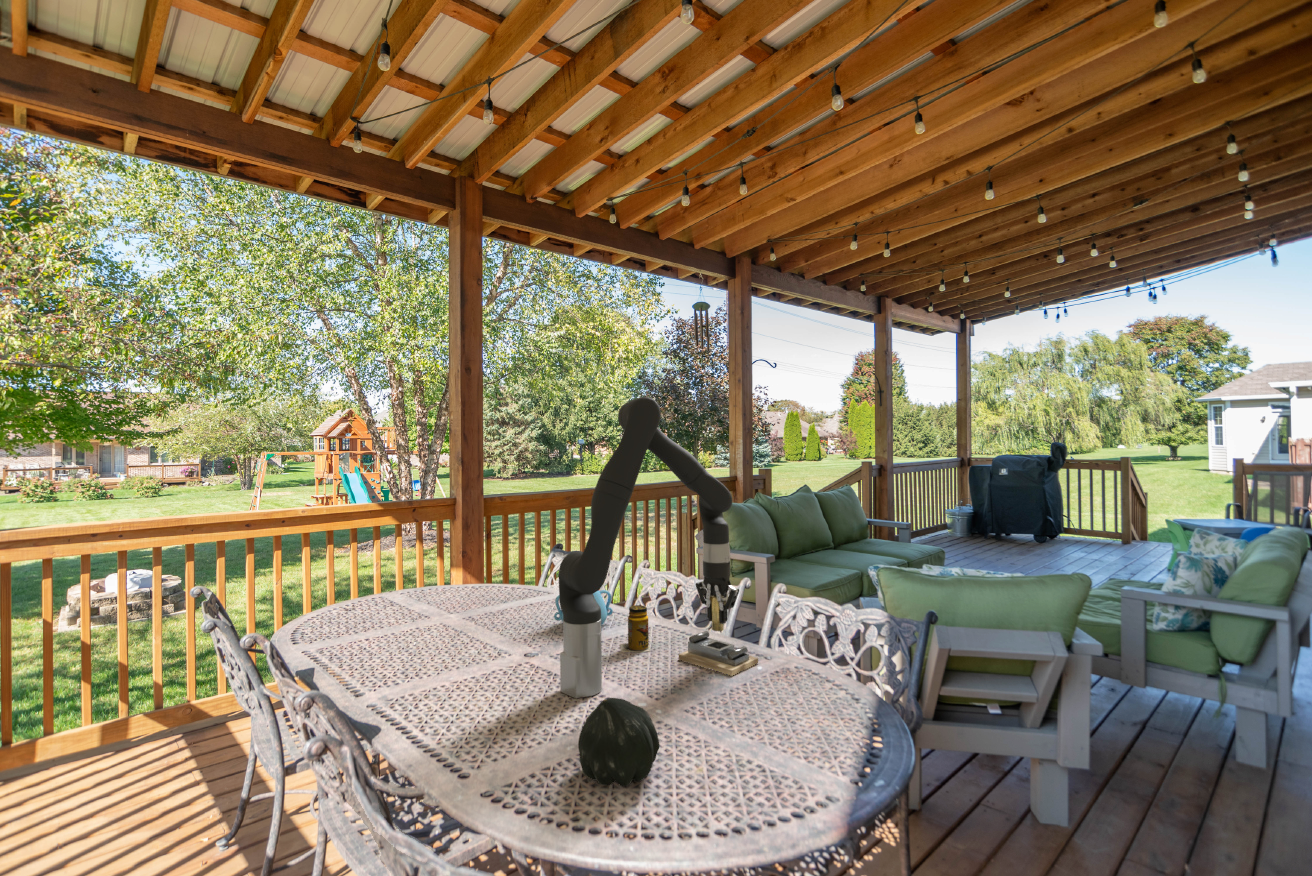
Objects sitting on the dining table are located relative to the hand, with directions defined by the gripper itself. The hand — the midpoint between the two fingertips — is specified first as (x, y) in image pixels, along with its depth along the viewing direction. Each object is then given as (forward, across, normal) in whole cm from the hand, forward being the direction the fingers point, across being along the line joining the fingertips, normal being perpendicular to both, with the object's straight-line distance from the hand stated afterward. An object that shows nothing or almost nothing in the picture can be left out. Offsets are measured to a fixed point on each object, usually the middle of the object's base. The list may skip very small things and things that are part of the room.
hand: (717, 621), depth 166 cm
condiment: (+11, -25, -7) cm, 28 cm away
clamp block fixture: (+11, 0, 0) cm, 11 cm away
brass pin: (+2, 0, 0) cm, 2 cm away
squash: (+11, +21, -57) cm, 62 cm away
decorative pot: (+11, -53, -3) cm, 54 cm away
